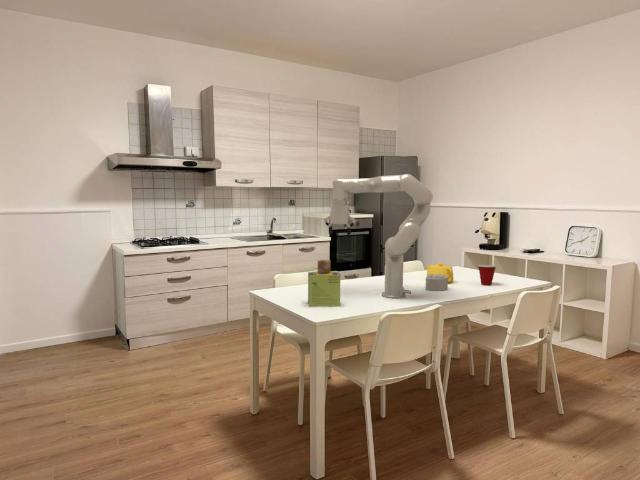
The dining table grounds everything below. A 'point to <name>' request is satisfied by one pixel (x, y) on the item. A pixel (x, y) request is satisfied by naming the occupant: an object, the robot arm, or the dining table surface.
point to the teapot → (441, 271)
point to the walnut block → (324, 266)
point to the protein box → (324, 289)
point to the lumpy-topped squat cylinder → (436, 282)
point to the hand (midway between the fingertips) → (339, 235)
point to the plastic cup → (486, 274)
